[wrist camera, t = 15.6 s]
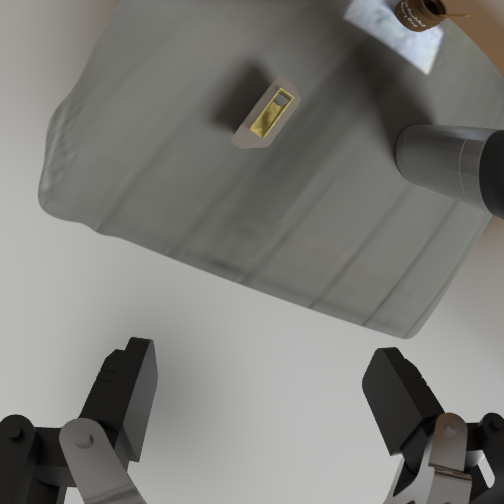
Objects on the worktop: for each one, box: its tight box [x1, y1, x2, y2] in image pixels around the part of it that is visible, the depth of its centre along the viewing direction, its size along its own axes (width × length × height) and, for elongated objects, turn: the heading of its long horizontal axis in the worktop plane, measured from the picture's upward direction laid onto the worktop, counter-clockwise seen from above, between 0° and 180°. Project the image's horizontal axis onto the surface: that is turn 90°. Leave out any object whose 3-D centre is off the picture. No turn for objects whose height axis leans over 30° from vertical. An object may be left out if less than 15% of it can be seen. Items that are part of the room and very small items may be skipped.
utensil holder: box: [396, 0, 471, 32], centre depth 22 cm, size 6×6×12 cm
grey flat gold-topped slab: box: [231, 75, 301, 149], centre depth 31 cm, size 12×18×7 cm, turn 145°
